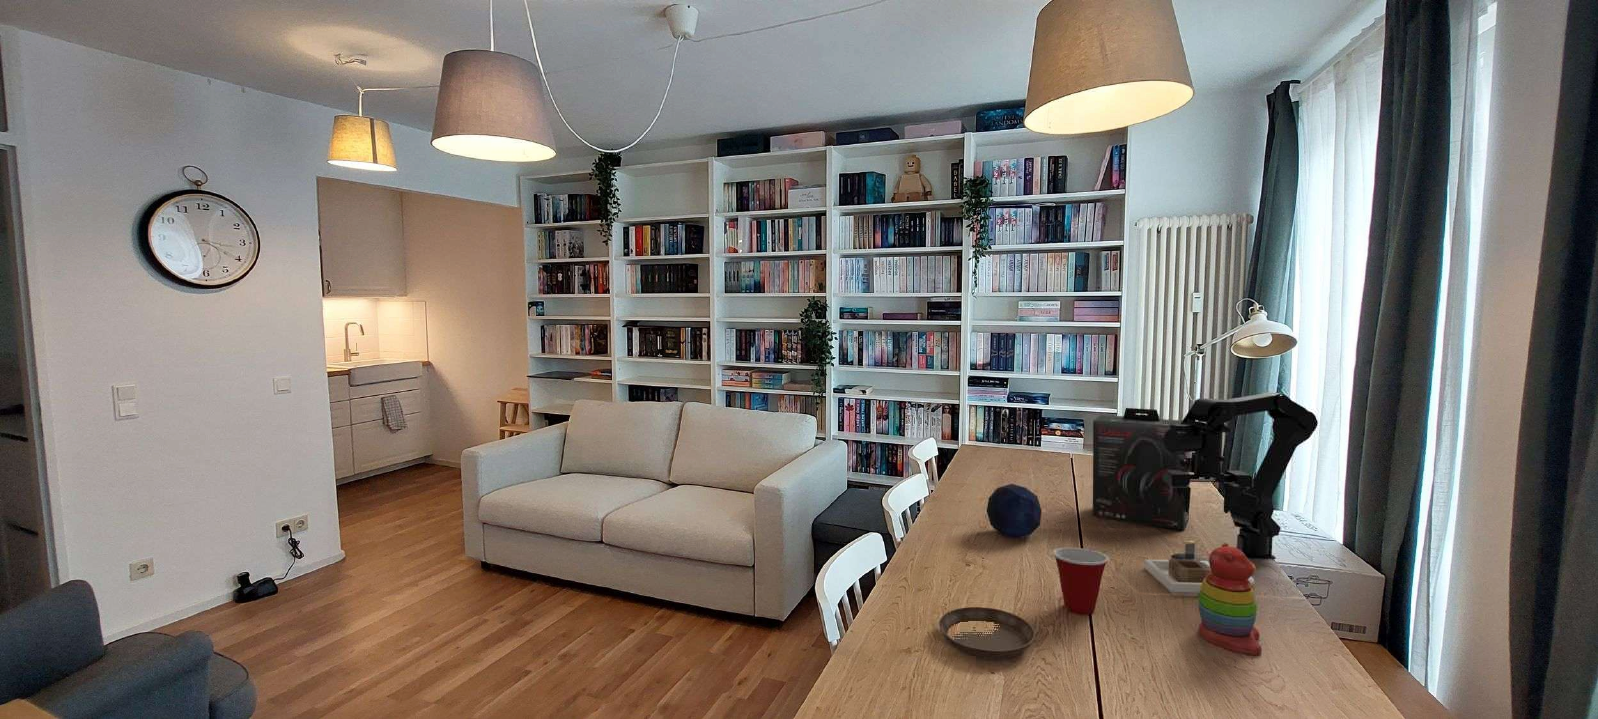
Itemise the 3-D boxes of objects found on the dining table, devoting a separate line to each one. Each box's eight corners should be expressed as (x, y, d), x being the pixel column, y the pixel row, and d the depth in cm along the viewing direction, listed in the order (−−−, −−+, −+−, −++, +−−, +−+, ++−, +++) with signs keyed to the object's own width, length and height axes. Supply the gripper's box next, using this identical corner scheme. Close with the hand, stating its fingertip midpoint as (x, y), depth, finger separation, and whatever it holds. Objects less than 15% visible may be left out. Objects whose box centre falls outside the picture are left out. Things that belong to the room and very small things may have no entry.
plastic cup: (1104, 600, 143) (1105, 546, 142) (1110, 623, 133) (1111, 565, 132) (1051, 594, 146) (1051, 541, 145) (1052, 616, 136) (1053, 559, 135)
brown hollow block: (1211, 585, 148) (1212, 570, 148) (1181, 584, 149) (1181, 569, 148) (1194, 571, 155) (1195, 557, 155) (1166, 571, 156) (1166, 556, 156)
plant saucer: (930, 620, 136) (930, 605, 135) (1016, 619, 136) (1016, 604, 135) (950, 667, 118) (950, 650, 118) (1049, 666, 118) (1049, 649, 118)
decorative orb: (1058, 515, 184) (1025, 469, 188) (1046, 530, 171) (1011, 481, 175) (1016, 538, 191) (985, 493, 195) (1002, 555, 178) (969, 506, 182)
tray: (1206, 570, 158) (1206, 560, 157) (1239, 596, 144) (1239, 585, 144) (1144, 569, 159) (1145, 559, 159) (1171, 594, 145) (1171, 583, 145)
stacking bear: (1262, 658, 119) (1266, 562, 117) (1196, 643, 124) (1199, 552, 123) (1258, 632, 128) (1262, 543, 127) (1197, 620, 133) (1200, 534, 132)
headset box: (1089, 516, 199) (1092, 407, 196) (1099, 506, 209) (1101, 402, 206) (1184, 532, 184) (1187, 414, 181) (1189, 520, 194) (1192, 408, 191)
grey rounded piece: (1198, 555, 167) (1199, 536, 167) (1215, 567, 159) (1215, 547, 159) (1165, 554, 168) (1165, 535, 168) (1180, 566, 160) (1180, 547, 160)
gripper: (1230, 443, 169) (1228, 503, 170) (1154, 443, 171) (1152, 502, 172) (1256, 453, 158) (1253, 517, 159) (1174, 452, 160) (1172, 515, 161)
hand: (1206, 512), depth 163 cm, fingers open, 9 cm apart
